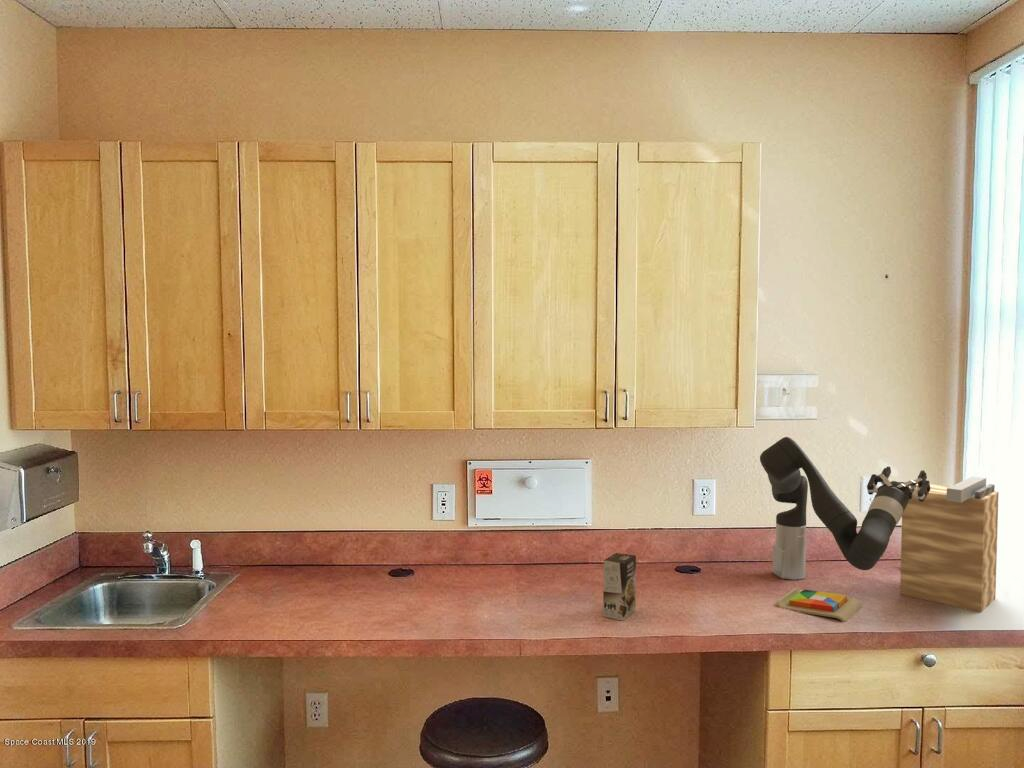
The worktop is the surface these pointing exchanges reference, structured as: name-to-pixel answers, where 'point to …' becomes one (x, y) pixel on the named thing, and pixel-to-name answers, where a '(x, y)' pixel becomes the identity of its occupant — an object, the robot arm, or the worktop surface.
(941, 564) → the maple block
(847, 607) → the wooden puzzle
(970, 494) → the light gray bar
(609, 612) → the coffee box
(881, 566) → the worktop surface
